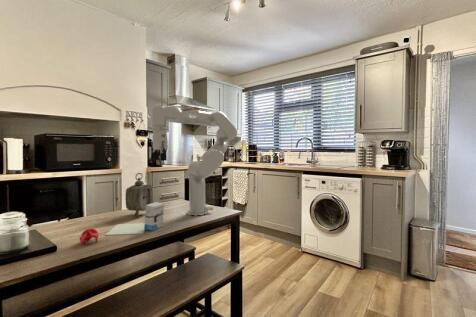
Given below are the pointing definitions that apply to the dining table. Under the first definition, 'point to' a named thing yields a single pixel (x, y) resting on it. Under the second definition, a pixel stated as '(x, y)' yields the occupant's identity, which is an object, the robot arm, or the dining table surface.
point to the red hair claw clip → (88, 235)
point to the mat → (127, 229)
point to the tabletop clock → (138, 196)
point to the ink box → (154, 216)
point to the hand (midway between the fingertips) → (159, 160)
